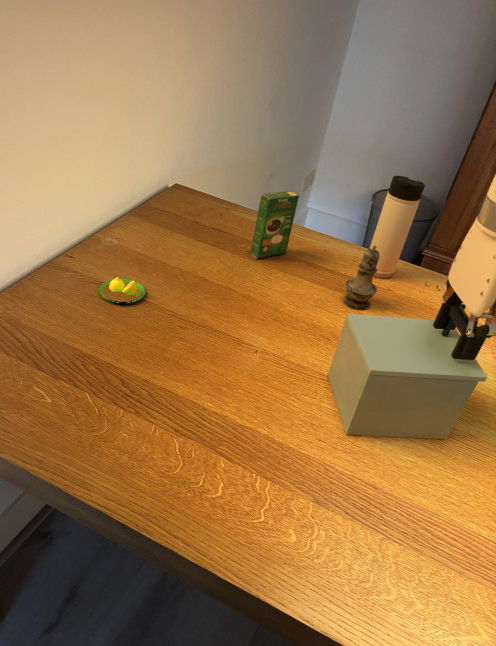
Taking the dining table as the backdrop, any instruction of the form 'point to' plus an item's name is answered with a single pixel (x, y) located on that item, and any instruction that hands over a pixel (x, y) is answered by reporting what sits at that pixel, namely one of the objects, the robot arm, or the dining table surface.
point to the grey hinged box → (392, 398)
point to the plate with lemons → (123, 288)
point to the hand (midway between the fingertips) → (452, 341)
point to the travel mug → (395, 223)
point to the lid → (413, 346)
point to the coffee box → (274, 223)
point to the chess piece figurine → (362, 282)
